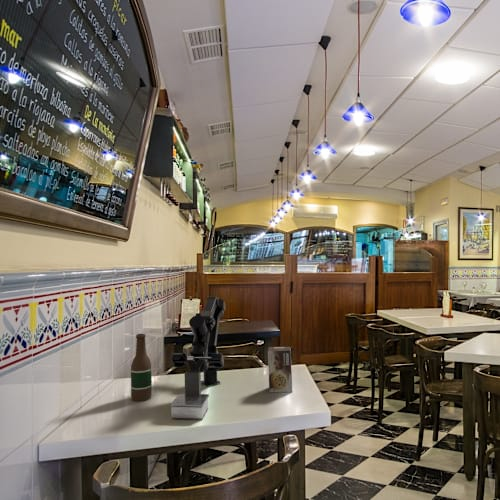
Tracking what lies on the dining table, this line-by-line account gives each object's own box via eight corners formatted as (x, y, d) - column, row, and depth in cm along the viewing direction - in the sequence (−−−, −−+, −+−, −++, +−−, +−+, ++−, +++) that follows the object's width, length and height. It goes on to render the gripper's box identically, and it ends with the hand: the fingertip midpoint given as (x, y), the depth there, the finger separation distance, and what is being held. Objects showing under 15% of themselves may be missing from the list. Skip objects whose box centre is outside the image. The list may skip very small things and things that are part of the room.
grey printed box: (292, 387, 149) (291, 346, 149) (292, 392, 142) (291, 350, 143) (269, 386, 150) (268, 346, 150) (268, 392, 143) (267, 350, 144)
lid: (179, 395, 130) (178, 370, 130) (208, 396, 129) (208, 370, 129) (170, 406, 120) (169, 379, 120) (202, 406, 119) (202, 379, 119)
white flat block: (179, 408, 129) (179, 397, 129) (208, 409, 128) (207, 397, 128) (171, 419, 120) (171, 407, 120) (202, 420, 119) (201, 407, 119)
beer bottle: (146, 402, 136) (145, 336, 137) (126, 401, 137) (126, 336, 138) (155, 395, 143) (154, 332, 144) (137, 394, 145) (136, 332, 146)
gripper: (227, 354, 146) (223, 393, 134) (181, 355, 147) (173, 392, 136) (223, 338, 138) (218, 377, 127) (174, 339, 140) (165, 377, 128)
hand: (193, 382), depth 130 cm, fingers closed, pressing on lid
